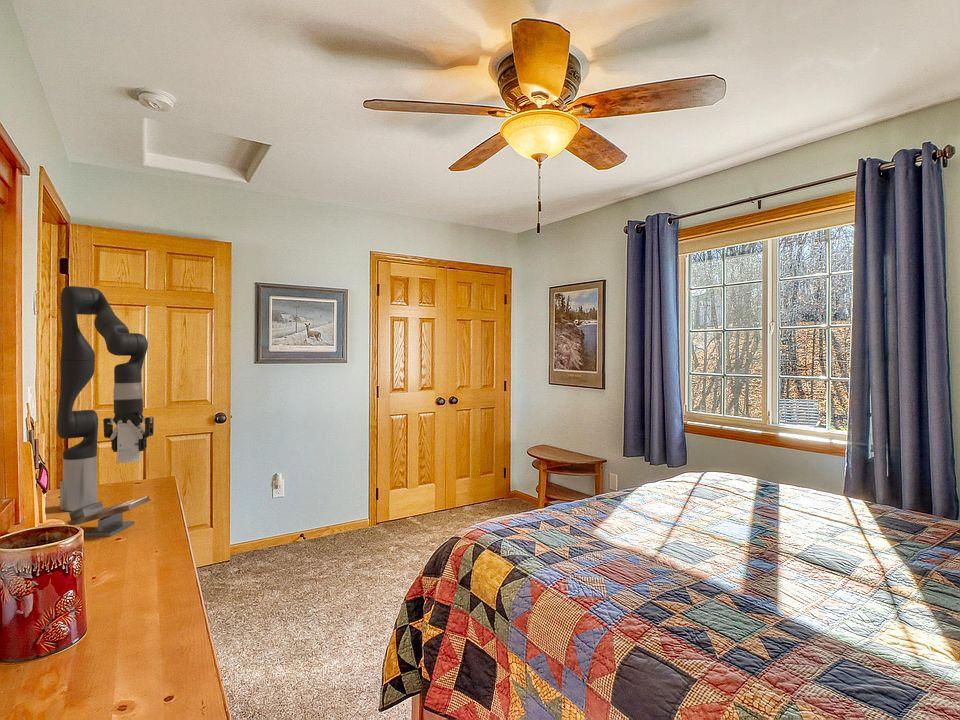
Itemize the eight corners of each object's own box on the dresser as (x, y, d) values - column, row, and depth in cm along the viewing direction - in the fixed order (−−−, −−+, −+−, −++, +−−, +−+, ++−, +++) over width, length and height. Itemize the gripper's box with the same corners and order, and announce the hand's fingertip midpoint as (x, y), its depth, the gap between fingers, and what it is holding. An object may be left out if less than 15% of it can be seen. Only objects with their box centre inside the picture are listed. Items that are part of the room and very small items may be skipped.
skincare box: (117, 464, 157) (116, 423, 157) (117, 462, 161) (116, 422, 161) (141, 461, 161) (140, 422, 161) (141, 459, 165) (140, 421, 165)
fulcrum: (85, 536, 150) (85, 521, 150) (111, 524, 161) (111, 509, 161) (110, 536, 151) (110, 520, 151) (134, 524, 162) (134, 509, 162)
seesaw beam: (68, 527, 151) (64, 514, 151) (92, 516, 161) (89, 504, 161) (129, 510, 151) (125, 497, 151) (150, 500, 161) (146, 488, 161)
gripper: (159, 396, 165) (160, 448, 165) (112, 397, 165) (113, 449, 165) (144, 398, 158) (145, 452, 158) (96, 399, 157) (96, 454, 157)
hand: (129, 451), depth 161 cm, fingers closed on skincare box, 7 cm apart
